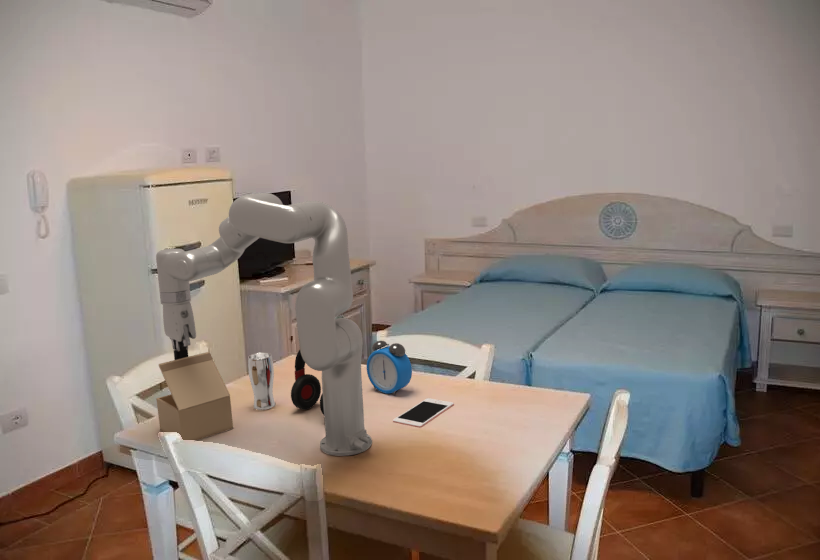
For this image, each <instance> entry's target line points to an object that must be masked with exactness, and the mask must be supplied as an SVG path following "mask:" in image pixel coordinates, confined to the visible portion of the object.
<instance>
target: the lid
mask: <svg viewBox="0 0 820 560" xmlns="http://www.w3.org/2000/svg"><path fill="white" fill-rule="evenodd" d="M158 367H159V370H160V371H161V374H162V376H163V378H164V381H165V383H166V386H167V387H168V389H169V392H170V394H172V397H173V399H174V401H175V403H176V406H177V408H178V410H179V411H182V410H185V409H188V408H192V407H195V406H198V405H202V404H205V403H209V402H212V401H215V400H219V399H222V398H225V397H229V396H230V397H231V394H230V392H229V389H228V388H227V385H226V384H225V382H224V381H225V380H223V377H222V376H221V373H220V372H219V369H218V367H217V365H216V362H215V361H214V359H213V356H212V354H211V352H210V351H206V352H202V353H198V354H194V355H190V356H189V355H188V357H185V358H181V359H177V360H170V361H165V362H162V363H158Z"/></svg>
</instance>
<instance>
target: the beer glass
mask: <svg viewBox="0 0 820 560" xmlns="http://www.w3.org/2000/svg"><path fill="white" fill-rule="evenodd" d="M247 368H248V377H249V380H250V385H251V389H252V392H253V409H254V410H256V409H257V410H258V411H265V410H270V409H273V408H274V407H276V402H275V398H274V393H273V392H274V389H273V388H274V376H275V375H274V374H275V372H274V371H275V369H274V362H273V356H272V353H270V352H256V353H252V354H250V355H248V357H247ZM272 407H273V408H272Z"/></svg>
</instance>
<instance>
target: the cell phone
mask: <svg viewBox="0 0 820 560" xmlns="http://www.w3.org/2000/svg"><path fill="white" fill-rule="evenodd" d="M454 405H455V402H452V401H446V400H440V399H435V398H430V397H429V398H428V397H427V398H425V399H424V400H422V401H420V402H418V403H417V404H416V405H414V406H413V407H411V408H409V409H408V410H405V412H403V413H401V414H400V415H398V416H396V417H395V418H393V419H392V423H395V424H399V425H405V426H409V427H415V428H422V427H424V426H425V425H427V424H428V423H431V422H432V420H434V419H435V418H437V417H439V416H440V415H442V414H443V413H444V412H446V411H447V410H449V409H450V408H452V407H453V406H454Z"/></svg>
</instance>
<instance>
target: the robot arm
mask: <svg viewBox="0 0 820 560" xmlns="http://www.w3.org/2000/svg"><path fill="white" fill-rule="evenodd" d="M218 233H219V236H220V237H218V238H217V239H216V240H215V241H213V242H212V243H211V244H209V245H208V246H203V247H199V248H198V247H197V248H195V249H190V250H188V251H187V250H186V251H185V249H182V248H165V249H161V250H159V251H157V253H156V255H155V260H156V271H157V279H158V289H159V301H160V302H159V303H160V305H162V318H163V319H162V320H163V321H162V323H163V329H164V334H165V336H167V337H168V339H170V340H171V344H172V345H171V346H172V350H173V358H174V360H177V359H181V358H185V357H189V346H191V340H190V339H193V340H194V339H196V337H197V331H196V330H197V329H196V324H195V323H196V322H195V317H194V312H193V308H192V307H193V306H192V303H191V301H192V298H191V288H190V286H191V285H190V282H193V281H197V280H200V279H203V278H207V277H210V276H213V275H216V274H218V273H221V272H223V271H224V270H225V269H226V268H228V267H230V266H231V265H233V263H235V262H236V261H237V260H238V259H240V258H241V256H242V255H243V254H244V252H245V250H246V249H247V248H248V247H249V246H251V245H252V244H253V243H254V242H256V241H258V239H264V240H268V241H273V242H278V243H282V244H295V243H299V242H302V241H305V240H308V239H313V240H314V246H313V250H312V265H313V280H312V281H309V282H308V283H306V284H304V285H303V286H302V287H301V288H300V290H299V291H298V293H297V294H296V295H297V296H296V299H295V308H294V309H295V318H296V328H297V336H298V337H297V338H298V347H299V350H300V352H301V355H302V358H303V360H304V361H305V365H306V366H308V367H309V368H311V370H314V371H318V372H321V394H322V393H323V406H324V415H323V417H324V430H325V436H324V437H323V438H322V439H321V440H320V442H319V447H320V450H321V451H322V452H323V453H325V454H327V455H330V456H335V457H345V456H353V455H357V454H358V455H359V454H360V453H363V452H366V451H367V450H368V449H369V448H371V446H372V444H373V440H372V439H373V438H372V437H371V436H370V434H369V433H368V432H367V429H366V428H365V414H364V399H363V398H364V397H363V379H362V377H363V376H362V354H363V346H364V345H363V333H362V331H361V329H360V327H359V325H358V324H357V323H356V322H355V321H354V320H352V319H350V318H345V317H338V316H339V315H342V314H344V313H346V311H347V310H349V309H350V307H351V306H352V305H353V301H354V291H353V283H352V282H353V281H352V280H353V279H352V271H351V262H350V254H349V238H348V237H349V235H348V229H347V225H346V222H345V219H344V218H343V216H342V215H341V213H340V212H339V210H337V209H336V208H335V207H334V206H332V205H330V204H328V203H327V202H326V203H325V202H323V201H320V200H319V201H317V200H311V201H310V200H309V201H308V200H307V201H302V202H298V203H292V204H288V205H287V204H286V205H285V204H283V202H282V200H281V199H280V198H279V197H278V196H277V195H275V194H272V193H270V192H259V193H252V194H246V195H242V196H240V197H238V198H236V199H235V200H233V202H232V203H231V205H230V207H229V211H228V216H227V217H226V218H225V219H223V220H222V221H221V222H220V224H219V227H218Z"/></svg>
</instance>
